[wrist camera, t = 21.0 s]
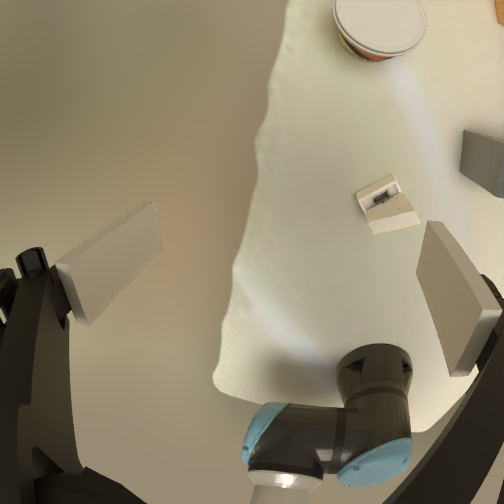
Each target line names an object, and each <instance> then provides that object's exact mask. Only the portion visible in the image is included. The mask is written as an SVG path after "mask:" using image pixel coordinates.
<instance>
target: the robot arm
mask: <svg viewBox="0 0 504 504" xmlns="http://www.w3.org/2000/svg"><path fill="white" fill-rule="evenodd" d="M162 250H163V247H162V241H161V235H160V228H159V221H158V215H157V207H156V202H155V201H154V202H153V201H143V202H141V203H140V204H139V205H137V206H135V207H134V208H132V209H130V210H129V211H127V212H126V213H124V214H123V215H121V216H120V217H118V218H117V219H115V220H114V221H112V222H111V223H109V224H108V225H106V226H105V227H103V228H102V229H100V230H99V231H97V232H96V233H94V234H93V235H92V236H90V237H89V238H87V239H86V240H85V241H83V242H82V243H80V244H79V245H78V246H76V247H75V248H73V249H72V250H71V251H69V252H68V253H66V254H65V255H64V256H62V257H61V258H60V259H59V260H57V261H56V262H55V265H53V266H52V267H51V268H50V269H49V266H48V263H47V260H46V256H45V253H44V250H43V248H41V247H35V248H30V249H28V250H25V251H24V252H22V253H20V254H19V255H18V256H17V257H16V262H17V265H18V268H19V270H20V273H21V276H22V278H21V279H20V278H19V279H16V277H15V274H14V271H13V269H11V268H6V269H1V270H0V308H1V310H2V312H3V314H4V316H5V318H6V320H7V321H6V323H5V324H4V323H3V322H2V320H1V318H0V504H147V503H145V502H144V501H142V500H141V499H140V498H138V497H137V496H136V495H134V494H133V493H132V492H130V491H129V490H128V489H127V488H125V487H124V486H123V485H121V484H120V483H117V482H115V481H113V480H111V479H109V478H107V477H105V476H103V475H101V474H99V473H97V472H95V471H93V470H92V469H90V468H88V467H85V468H84V469H83V467H82V465H81V464H80V461H79V458H78V454H77V448H76V441H75V433H74V425H73V416H72V404H71V391H70V371H69V319H68V317H67V314H68V313H69V312H70V311H71V310H72V312H73V315H74V317H75V319H76V321H77V322H79V323H82V324H86V325H89V326H90V325H91V323H92V322H93V321H94V320H95V319H96V318H97V317H98V316H99V315H100V314H101V312H102V311H103V310H104V309H105V308H106V307H107V306H108V305H109V304H110V303H111V302H112V301H113V300H114V299H115V298H116V297H117V296H118V295H119V294H120V293H121V292H122V291H123V290H124V288H125V287H126V286H127V285H128V284H129V283H130V282H131V281H132V280H133V279H134V278H135V277H136V276H137V275H138V274H139V273H140V272H141V271H142V270H143V269H144V268H145V267H146V266H147V265H148V264H149V263H150V262H151V261H152V260H153V259H154V258H155V257H156V256H157V255H158V254H159V253H160V252H161V251H162ZM416 275H417V277H418V280H419V283H420V285H421V288H422V290H423V293H424V296H425V298H426V301H427V304H428V307H429V310H430V312H431V315H432V318H433V321H434V324H435V327H436V330H437V333H438V337H439V340H440V343H441V346H442V350H443V353H444V356H445V360H446V364H447V367H448V371H449V375H450V377H457V376H469V374H470V373H471V371H472V369H473V367H474V366H475V364H477V367H478V370H479V373H478V375H477V376H476V378H475V379H474V381H473V383H472V384H471V386H470V387H469V389H468V390H467V392H466V393H465V394H466V395H465V397H464V399H463V401H462V402H461V404H460V405H459V407H458V409H457V410H456V412H455V413H454V415H453V416H452V418H451V419H450V421H449V422H448V424H447V425H446V427H445V428H444V430H443V431H442V433H441V434H440V435H439V437H438V438H437V440H436V441H435V442H434V444H433V445H432V446H431V448H430V449H429V450H428V452H427V453H426V454H425V456H424V457H423V458H422V459H421V461H420V462H419V463H418V465H417V466H416V467H415V468H414V469H413V470H412V472H411V473H410V474H409V475H408V476H407V477H406V479H405V480H404V481H403V482H402V483H401V484H400V485H399V486H398V488H397V489H396V490H395V491H394V492H393V493H392V494H391V495H390V496H389V497H388V498H387V499H386V500H385V501H384V502H383V504H470V503H471V501H472V500H473V498H474V496H475V495H476V493H477V491H478V490H479V488H480V486H481V485H482V483H483V481H484V479H485V478H486V476H487V474H488V472H489V470H490V468H491V466H492V465H493V462H494V460H495V459H496V457H497V455H498V453H499V451H500V448H501V446H502V444H503V442H504V299H503V298H502V296H501V294H500V292H498V289H497V288H496V286H495V285H494V283H493V282H492V281H491V280H490V279H489V278H487V277H486V276H485V275H483V274H480V273H479V272H478V270H477V269H476V268H475V266H474V265H473V263H472V262H471V260H470V259H469V257H468V256H467V255H466V253H465V252H464V250H463V249H462V248H461V246H460V245H459V244H458V242H457V241H456V240H455V238H454V237H453V236H452V234H451V233H450V232H449V230H448V229H447V228H446V227H445V225H444V224H443V223H442V222H438V221H430V220H427V225H426V230H425V235H424V240H423V245H422V249H421V254H420V258H419V262H418V266H417V270H416ZM412 375H413V369H412V363H411V359H410V357H409V355H408V354H407V353H406V352H405V351H404V350H402V349H401V348H399V347H396V346H393V345H388V344H374V345H368V346H364V347H361V348H359V349H356V350H354V351H352V352H351V353H349V354H348V355H347V356H345V357H344V358H343V359H342V361H341V362H340V363H339V365H338V368H337V377H336V382H337V387H338V389H339V392H340V395H341V398H342V400H343V403H344V408H336V407H320V406H309V405H300V404H292V403H290V402H289V403H273V402H270V403H266V404H264V405H262V406H261V407H260V408H259V410H258V411H257V412H256V414H255V415H254V417H253V419H252V421H251V423H250V426H249V428H248V431H247V433H246V436H245V439H244V446H243V449H242V453H241V459H242V462H243V463H245V464H246V465H248V466H249V469H248V473H247V474H248V476H249V477H250V479H251V480H252V481H253V483H254V489H253V493H252V497H251V501H250V504H308V502H309V497H310V493H311V491H312V490H314V489H315V488H317V487H318V486H319V485H321V484H322V480H323V475H324V474H337V478H338V480H339V482H340V483H341V484H343V485H348V486H353V487H356V486H357V487H358V486H368V485H373V484H378V483H381V482H385V481H387V480H389V479H392V478H394V477H396V476H398V475H399V474H401V473H402V472H403V471H405V470H406V469H407V467H408V466H409V464H410V462H411V458H412V457H411V456H412V443H413V441H412V438H411V426H410V416H409V407H408V399H407V396H408V392H409V388H410V384H411V380H412ZM497 504H504V480H503V484H502V487H501V491H500V494H499V498H498V501H497Z"/></svg>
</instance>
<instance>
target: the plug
mask: <svg viewBox="0 0 504 504" xmlns="http://www.w3.org/2000/svg"><path fill="white" fill-rule="evenodd" d="M495 6H496V13H497V20H498V23H499V24H501V25H504V0H495Z"/></svg>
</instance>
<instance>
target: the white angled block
mask: <svg viewBox="0 0 504 504" xmlns="http://www.w3.org/2000/svg"><path fill="white" fill-rule="evenodd" d="M386 191H387V193H388V196H387V197H385V198H383V199H381V200H379V201H377V202H374V200H373V198H375V197H377V196H379V195H381V194H383V193H385V192H386ZM356 196H357V200H358V202H359V204H360V206H361V207H362V209H363V211H364V213H365V217H366V221H367V223H368V225H369V227H370V229H371V231H372V233H373V235H375V234H380V233H384V232H389V231H393V230H398V229H402V228H407V227H411V226H416V225H420V224H421V222H420V220H419V218H418V216H417V213H416V211H415V209H414V208H413V207H412V205H411V204H410V202H409V201H408V200H407V198H406V197H405V196H404V194H403V193H402V191H401V189H400V187H399V185H398V183H397V181H396V179H395V178H394V177H393V176H392V174H391V175H389V176H387V177H385V178H383V179H382V180H380V181H378V182H376V183H374V184H372V185H371V186H369V187H367V188H365V189H363V190H361V191H359V192H358V193H356Z"/></svg>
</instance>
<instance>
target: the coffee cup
mask: <svg viewBox="0 0 504 504" xmlns="http://www.w3.org/2000/svg"><path fill="white" fill-rule="evenodd" d="M332 12H333V16H334V20H335V22H336V27H337V32H338V36H339V39H340V42H341V44H342V46H343V47H344V49H345V50H346V51H347V52H348V53H349V54H350V55H352V56H353V57H355V58H357V59H359V60H362V61H366V62H379V61H383V60H386V59H389V58H392V57H395V56H400V55H404V54H407V53H409V52H411V51H412V50H414V49H415V48H416V47H417V46H418V45H419V44H420V43H421V42H422V40H423V38H424V36H425V33H426V27H427V22H426V15H425V12H424V9H423V7H422V5H421V3H420V2H419V0H333V2H332Z"/></svg>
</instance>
